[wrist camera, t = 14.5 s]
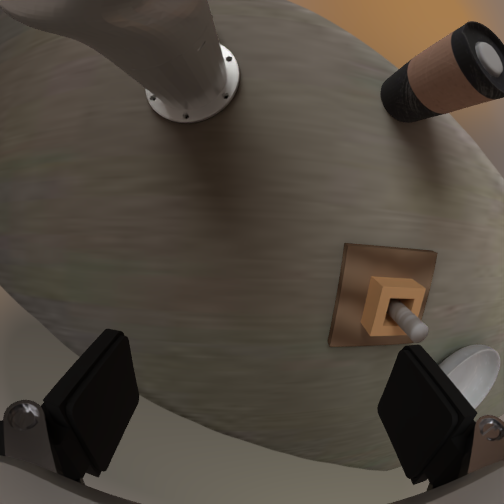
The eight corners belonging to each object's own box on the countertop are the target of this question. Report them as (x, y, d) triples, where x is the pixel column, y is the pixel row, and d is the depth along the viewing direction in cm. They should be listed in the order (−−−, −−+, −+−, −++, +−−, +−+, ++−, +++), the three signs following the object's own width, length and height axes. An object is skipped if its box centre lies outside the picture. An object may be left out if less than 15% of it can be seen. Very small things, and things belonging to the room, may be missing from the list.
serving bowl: (387, 413, 44) (398, 436, 37) (442, 325, 39) (463, 343, 33) (448, 412, 45) (460, 430, 39) (496, 338, 40) (513, 353, 34)
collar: (371, 276, 36) (382, 286, 32) (412, 278, 36) (425, 288, 32) (360, 322, 37) (369, 336, 33) (400, 322, 37) (412, 334, 33)
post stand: (344, 243, 36) (378, 268, 25) (432, 250, 36) (479, 273, 25) (327, 341, 40) (347, 390, 28) (410, 338, 40) (443, 377, 28)
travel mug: (428, 124, 32) (527, 101, 12) (386, 125, 32) (484, 91, 13) (414, 77, 30) (500, 30, 10) (372, 75, 30) (451, 11, 11)
